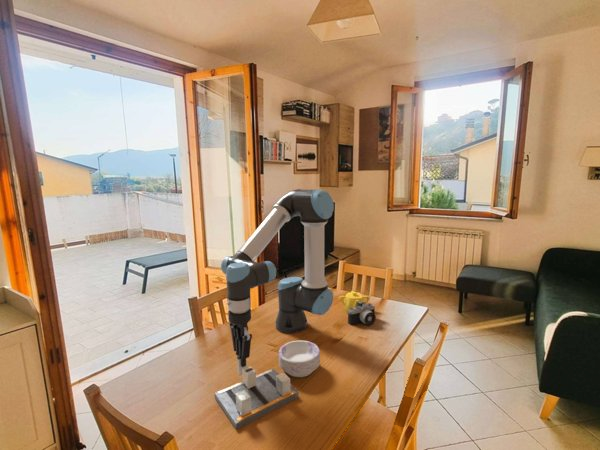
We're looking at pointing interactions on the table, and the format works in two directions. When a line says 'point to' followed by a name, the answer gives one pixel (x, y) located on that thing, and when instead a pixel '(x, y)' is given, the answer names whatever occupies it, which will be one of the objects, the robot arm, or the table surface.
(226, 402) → the panel
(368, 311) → the camera
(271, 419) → the table surface
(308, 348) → the paper bowls
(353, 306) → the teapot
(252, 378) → the breaker
